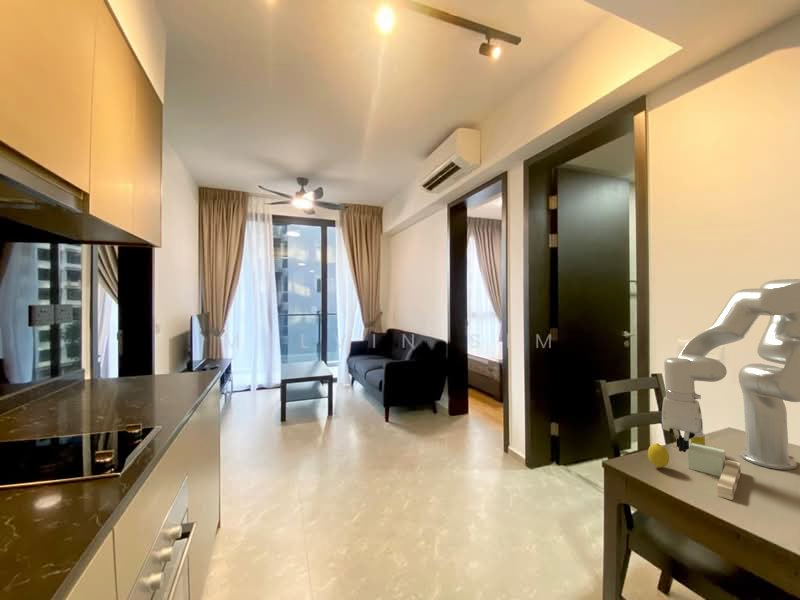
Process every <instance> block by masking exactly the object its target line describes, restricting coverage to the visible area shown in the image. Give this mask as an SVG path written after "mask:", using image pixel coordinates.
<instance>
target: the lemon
mask: <svg viewBox="0 0 800 600" xmlns="http://www.w3.org/2000/svg"><path fill="white" fill-rule="evenodd" d="M647 456H648V460H649V461H650V463H651V464H652V465H654V466H656V468H658V469H660V468H664V467H667V466H668V464H669V463H670V455H669V452H668V450H667V449H666V447H664V446H663V445H661V444H660V443H653V444H651V445H650V446H649V447H648V450H647Z"/></svg>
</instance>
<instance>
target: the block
mask: <svg viewBox="0 0 800 600" xmlns="http://www.w3.org/2000/svg"><path fill="white" fill-rule="evenodd" d="M687 458H688V459H687V460H688V461H687V462H688V469H689V470H693V471H696V472H701V473H704V474H709V475H713V476H716V477H719V478H720V477H721V474H722V472H723V469H724V466H725V464H726V450H725V449H723V448H722V449H720V448H716V447H712V446H707V445H705V446H704V445H699V444H694V443H692V444H691V445H690V447H689V449H687Z"/></svg>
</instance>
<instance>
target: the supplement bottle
mask: <svg viewBox="0 0 800 600" xmlns="http://www.w3.org/2000/svg"><path fill="white" fill-rule="evenodd" d="M702 432H703V434H704V435H703V437H693V438H691V439H689V447H690V445H691V444H692V443H694V444H699V445H704V446H706V440H705V439H706V438H705V432H704V429H702Z"/></svg>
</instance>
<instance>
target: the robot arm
mask: <svg viewBox="0 0 800 600" xmlns="http://www.w3.org/2000/svg"><path fill="white" fill-rule="evenodd" d="M760 316H769V321H768V323H767V326H766V328H765V330H764V332H763V334H762V336H761V339H760V341H759V343H758V345H757V352H756V353H757V355H758V356H759V357H760V358H761V359H763V360H764V361H767V362H770V363H774V364H778V365H779V364H780V365H784V366H783V367H779V366H775V365H770V364H764V363H749V364H748V363H747V364H746V365H744V366H742V367H741V368H740V370H739V372H738V377H737V378H738V382H739V387H740V389H741V393H742V398H743V408H744V409H743V410H744V411H743V412H744V425H745V426H744V427H745V429H744V430H745V446H746V448H743V449H741V450H740V451H739V455H740V457H741V458H742V459H743V460H746V461H747V462H750V463H751V464H755V465H757V466H761V467H764V468H765V467H766V468H769V469H775V470H794V469H796V468H797V466H798V465H797V462H796V460H794V459H793V458H791V457H790V455H789V437H788V436H789V435H788V433H789V432H788V417H787V416H788V414H787V407H786V404H785V403H784V401H785V402H790V403H800V278H787V279H785V278H783V279H782V278H781V279H774V280H769V281H766V282H764V283H762V284H761V285H760V287H759V288H743V289H740V290H736V291H735V292H734V293H733V294H732V295H730V298H729V300H728V301H727V302H726V304H725V305H724V307H723V309H722V310H721V311H720V313H719V314H718V315H717V317H716V318H715V320H714V322H713V323H712V324H711V326H709V327H708V328H706V329H704V330H703V331H701V332H700V333H698V334H697V335H695V336H694V337H692V338H691V339H690V340H689V341H687V343H686V344H685V345H684V347H683V348H682V350H681V351H680V353H679V354H678V356H677V357H668V358H665V360H664V363H663V364H664V383H665V396H664V397H663V399H662V408H661V423H662V426H661V429H662V430H664V431H667V432H670V433H671V434H672V436H674V438H675V439H676V441H675V442H676V448H678V451H679V452H682V453H686V452H688V449H689V439H691V438H693V437H703V435H705V433H704V431H703V432H702V429H703V428H704V427H703V426H704V425H703V415H702V410H701V405H700V402H699V400H701V399H702V394H697V392H696V390H695V381H697V382H707V383H708V382H709V383H714V382H719V381H721V380H723V379H724V378H725V377H726V375H727V373H728V371H727V367H726V366H725V365H724V364H723V362H721V361H719V360H717V359H714V358H710V357H706V356H707V355H708V354H709V353H710V352H711V351H713V350H715V349H717V348H718V347H721V346H724V345H727V344H731V343H736V342H739V341H741V340H743V339H745V337H746V336H747V335H748V333H749V331H750V329H751V328H752V327H753V325H754V324H755V322H756V321H757V320H758V318H759V317H760ZM703 430H704V429H703ZM681 432H684V434H683V436H682V433H681ZM703 433H704V434H703Z"/></svg>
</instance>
